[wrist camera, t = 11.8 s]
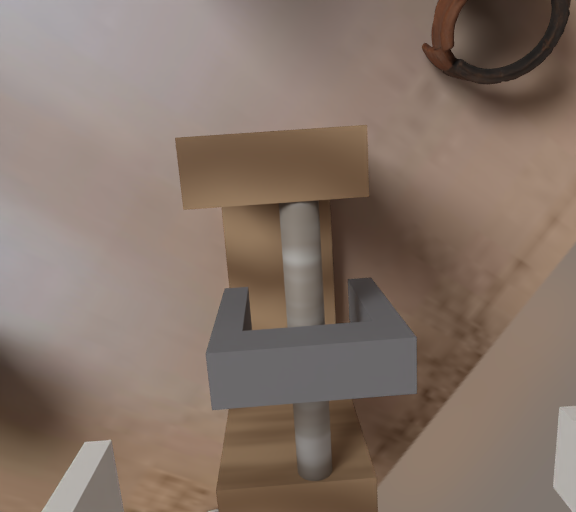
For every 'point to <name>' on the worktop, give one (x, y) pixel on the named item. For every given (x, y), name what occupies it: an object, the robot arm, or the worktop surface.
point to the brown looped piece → (458, 68)
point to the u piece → (311, 354)
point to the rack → (284, 306)
